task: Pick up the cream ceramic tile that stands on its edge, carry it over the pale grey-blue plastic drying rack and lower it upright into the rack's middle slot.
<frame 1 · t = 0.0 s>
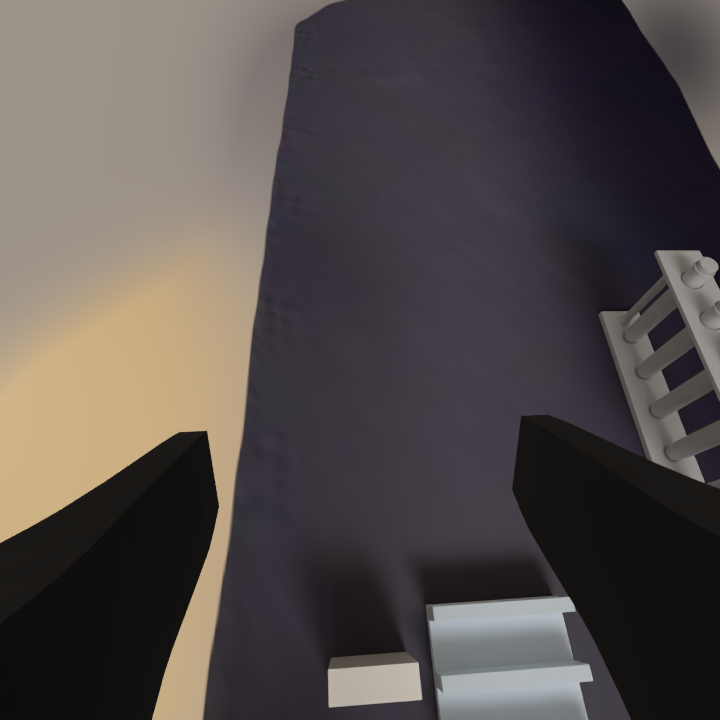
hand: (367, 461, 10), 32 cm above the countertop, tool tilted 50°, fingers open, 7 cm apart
cream tile: (369, 669, 35), on the countertop
test tube rack: (650, 415, 46), on the countertop
drying rack: (508, 706, 34), on the countertop
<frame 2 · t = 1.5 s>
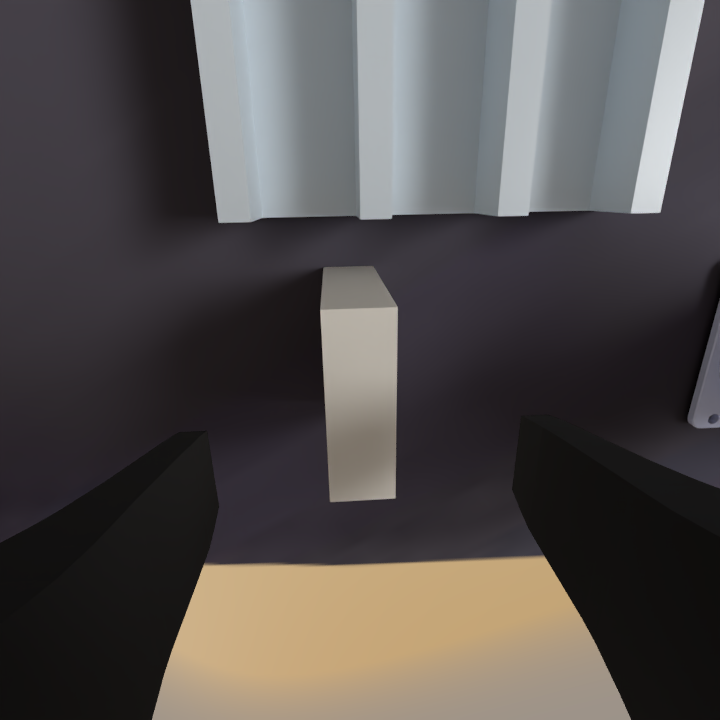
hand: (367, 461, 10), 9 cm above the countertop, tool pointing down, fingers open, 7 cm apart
cream tile: (350, 337, 19), on the countertop
drying rack: (428, 46, 15), on the countertop
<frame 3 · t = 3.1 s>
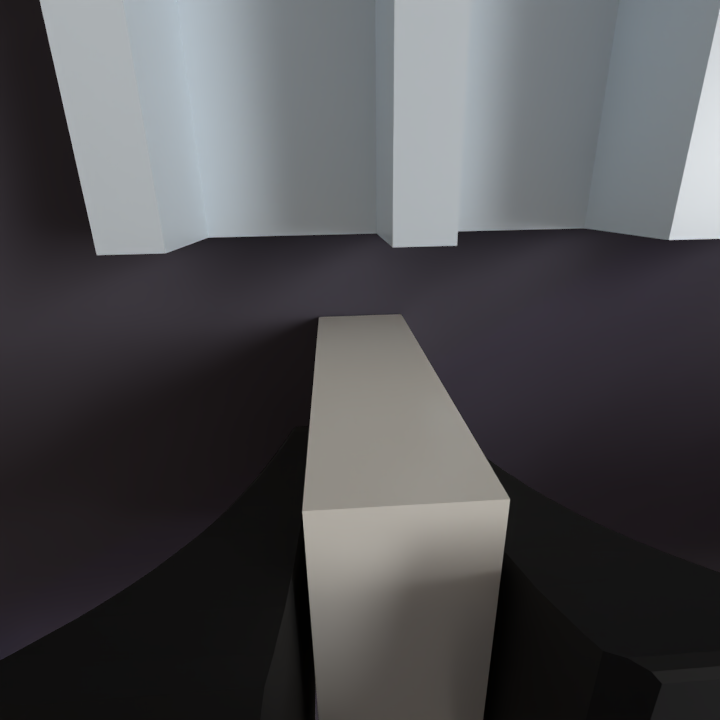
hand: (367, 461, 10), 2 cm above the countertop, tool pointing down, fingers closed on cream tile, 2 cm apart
cream tile: (362, 424, 12), on the countertop, touching gripper
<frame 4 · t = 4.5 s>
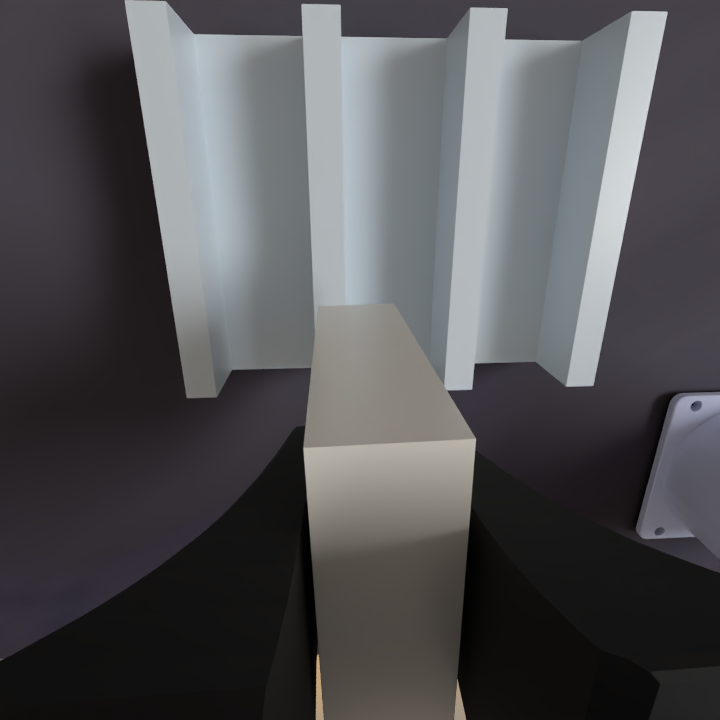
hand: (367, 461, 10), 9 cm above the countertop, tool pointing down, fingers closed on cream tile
cream tile: (358, 407, 13), point 6 cm above the countertop, touching gripper
drying rack: (386, 220, 17), on the countertop
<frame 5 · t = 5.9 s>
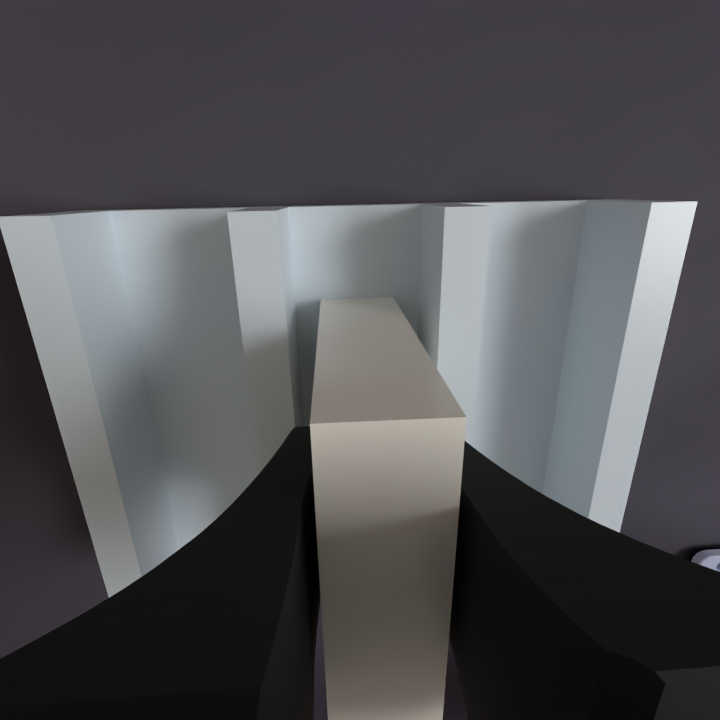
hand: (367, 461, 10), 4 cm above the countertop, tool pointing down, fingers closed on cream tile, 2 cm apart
cream tile: (358, 397, 13), point 1 cm above the countertop, touching drying rack, gripper
drying rack: (357, 386, 14), on the countertop
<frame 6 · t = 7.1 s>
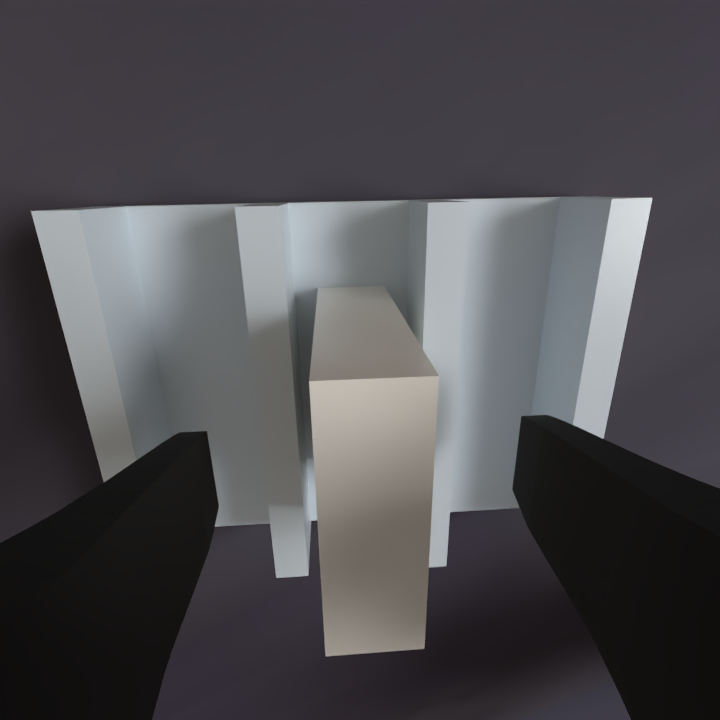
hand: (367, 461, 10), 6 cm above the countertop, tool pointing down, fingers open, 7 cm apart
cream tile: (353, 378, 14), point 1 cm above the countertop, touching drying rack
drying rack: (352, 369, 15), on the countertop
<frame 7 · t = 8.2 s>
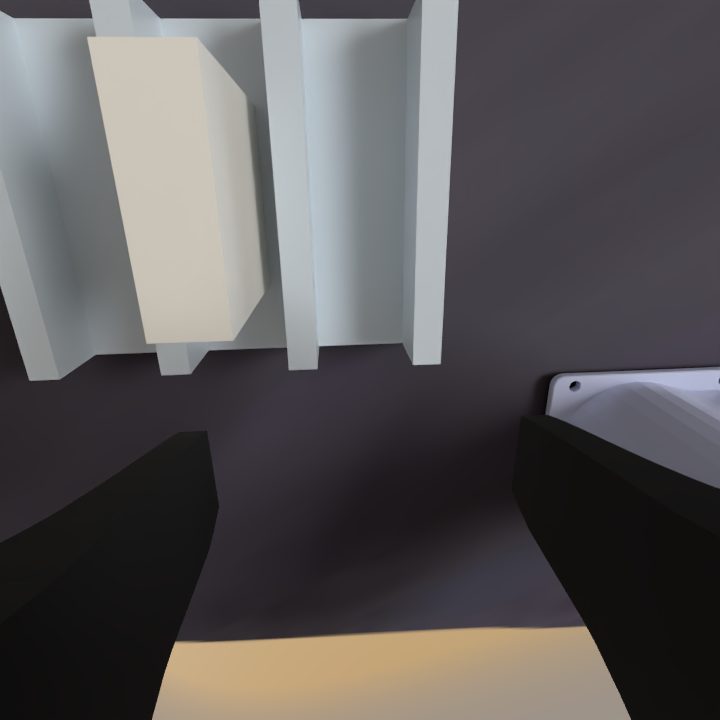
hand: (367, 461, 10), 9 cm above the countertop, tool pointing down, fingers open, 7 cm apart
cream tile: (235, 201, 16), point 1 cm above the countertop, touching drying rack
drying rack: (240, 203, 17), on the countertop
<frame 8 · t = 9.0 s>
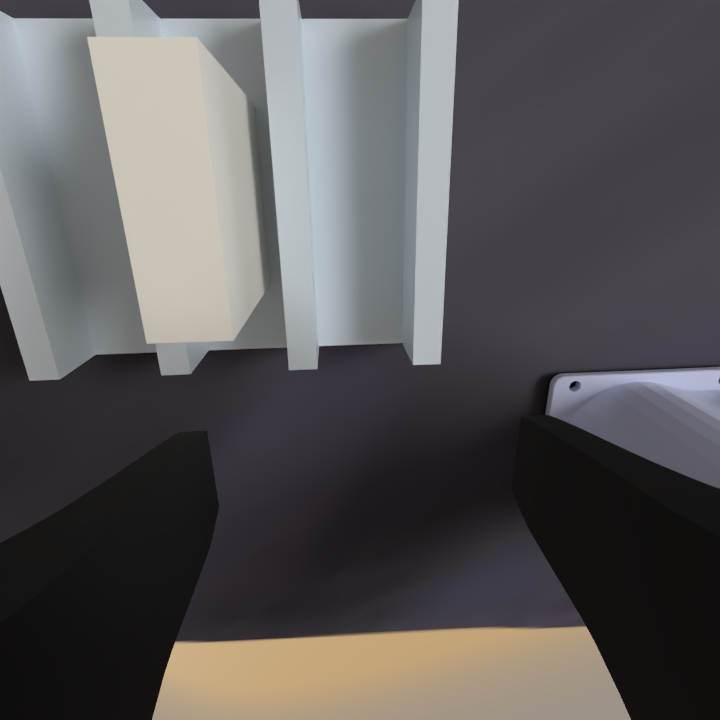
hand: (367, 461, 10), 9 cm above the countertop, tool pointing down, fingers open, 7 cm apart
cream tile: (235, 201, 16), point 1 cm above the countertop, touching drying rack
drying rack: (240, 203, 17), on the countertop
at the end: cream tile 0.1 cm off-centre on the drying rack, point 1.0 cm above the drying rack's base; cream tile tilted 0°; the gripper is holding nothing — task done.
